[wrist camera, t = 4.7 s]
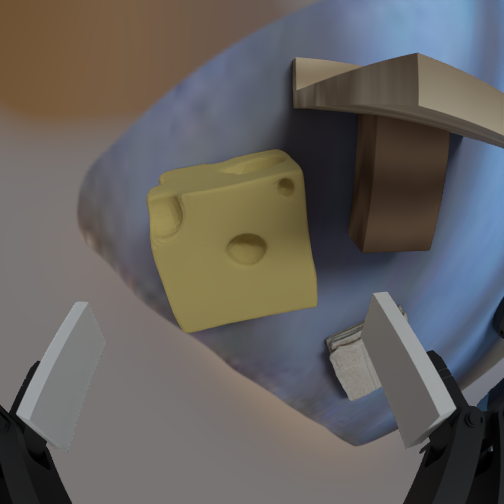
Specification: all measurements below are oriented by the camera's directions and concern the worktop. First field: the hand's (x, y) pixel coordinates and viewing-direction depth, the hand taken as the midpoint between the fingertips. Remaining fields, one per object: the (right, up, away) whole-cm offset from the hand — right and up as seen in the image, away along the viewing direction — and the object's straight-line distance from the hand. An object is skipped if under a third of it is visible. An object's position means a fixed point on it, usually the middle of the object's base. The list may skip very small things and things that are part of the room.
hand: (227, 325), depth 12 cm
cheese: (0, +7, +14) cm, 16 cm away
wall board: (+15, +12, +11) cm, 22 cm away
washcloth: (+19, -12, +25) cm, 34 cm away
